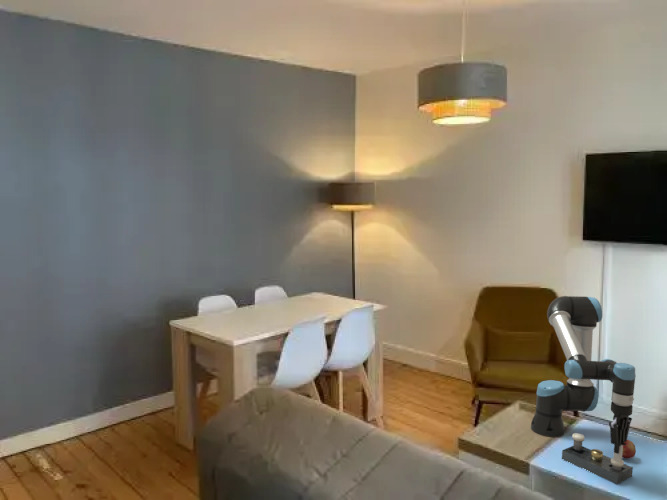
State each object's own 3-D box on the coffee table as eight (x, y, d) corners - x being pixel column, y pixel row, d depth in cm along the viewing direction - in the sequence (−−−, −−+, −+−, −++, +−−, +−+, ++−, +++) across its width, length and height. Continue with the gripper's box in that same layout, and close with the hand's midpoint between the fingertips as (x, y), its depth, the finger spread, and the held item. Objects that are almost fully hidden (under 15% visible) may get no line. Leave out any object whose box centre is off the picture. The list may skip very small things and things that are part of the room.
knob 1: (569, 447, 233) (570, 434, 233) (575, 445, 236) (576, 432, 235) (579, 452, 230) (580, 438, 229) (585, 449, 232) (586, 436, 232)
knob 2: (607, 473, 220) (608, 459, 219) (613, 470, 222) (614, 456, 222) (618, 478, 216) (619, 464, 215) (625, 475, 219) (626, 461, 218)
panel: (561, 459, 233) (562, 450, 233) (576, 452, 239) (577, 444, 239) (617, 484, 213) (618, 474, 213) (632, 476, 220) (632, 467, 219)
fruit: (634, 464, 230) (636, 446, 229) (614, 459, 234) (615, 441, 233) (635, 457, 237) (637, 439, 236) (615, 452, 241) (617, 434, 240)
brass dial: (588, 457, 226) (589, 450, 226) (594, 455, 229) (595, 447, 229) (598, 462, 223) (599, 454, 223) (604, 459, 225) (605, 451, 225)
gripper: (622, 409, 209) (618, 468, 212) (640, 402, 217) (635, 459, 219) (603, 403, 216) (599, 460, 218) (621, 396, 223) (617, 452, 225)
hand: (617, 460), depth 219 cm, fingers closed
